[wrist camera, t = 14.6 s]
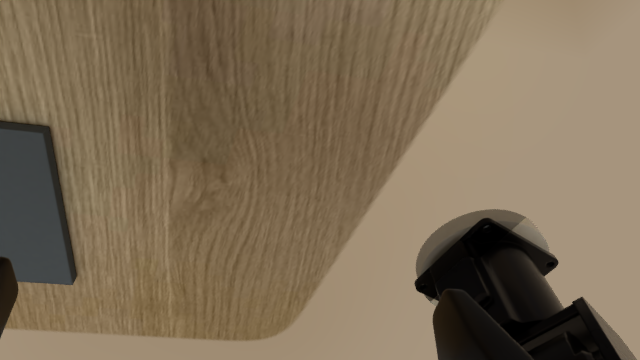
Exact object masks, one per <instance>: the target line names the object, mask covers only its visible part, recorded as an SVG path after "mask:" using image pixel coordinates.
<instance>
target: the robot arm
mask: <svg viewBox="0 0 640 360" xmlns="http://www.w3.org/2000/svg"><path fill="white" fill-rule="evenodd" d="M488 225H489V226H488ZM485 226H488V227H486V228H484V227H485ZM557 265H558V260H557V259H556V257H555V256H554V255H553V254H551V253H549V252H548V251H546V250H544V249H542V248H541V247H539V246H537V245H536V244H534V243H532V242H530V241H529V240H527V239H525V238H524V237H522V236H520V235H518V234H517V233H515V232H513V231H512V230H510V229H508V228H506V227H505V226H503V225H501V224H500V223H498V222H496V221H494V220H493V219H491V218H483V219H481V220H480V221H478V222H477V223H476V224H475V225H474V226H473V227H472V228H471V229H470V230H469V231H468V232H466V233H465V234H464V235H463V236H462V237H461V238H460V239H459V240H458V241H457V242H456V243H455V244H454V245H453V246H451V247H450V248H449V249H448V250H447V251H446V252H445V253H444V254H443V255H442V256H441V257H440V258H439V259H438V260H437V261H435V262H434V263H433V264H432V265H431V266H430V267H429V268H428V269H427V270H426V271H425V272H424V273H423V274H422V275H420V276H419V277H418V278H417V279H416V280H415V283H414V284H415V287H416V290H417V291H418V292H420V293H422V294H424V295H426V296H429V297H431V298H433V299H435V300H437V301H439V302H438V304H437V306H436V309H435V311H434V314H433V327H434V334H435V340H436V347H437V354H438V360H637V359H636V358H635V356H634V355H633V354H632V352H631V351H630V350H629V348H628V347H627V346H626V345H625V343H624V342H623V340H622V339H621V338H620V337H619V335H617V333H616V332H615V331H614V330H613V329H612V328H611V327H610V326H609V325H608V324H607V323H606V321H605V320H604V319H603V318H602V317H601V316H600V315H599V314H598V313H597V312H596V311H595V310H594V309H593V308H592V306H590V304H588V302H587V301H586V300H585V299H584V298H583V297H581V298H579V299H577V300H575V301H573V302H572V303H573V304H572V305H570V306H569V307H566V308H565V309H564V308H563V306H562V304H561V303H560V301H559V300H558V298H557V296H556V295H555V293H554V292H553V290H552V288H551V287H550V286H549V284H548V282H547V281H546V279H545V278H544V276H545V275H547V274H548V273H549V272H550V271H552V270H553V269H554V268H555V267H556V266H557ZM423 284H424V285H423ZM17 295H18V283H17V280H16V276H15V273H14V269H13V266H12V263H11V260H10V259H9V258H7V257H0V338H1V335H2V333H3V330H4V328H5V325H6V323H7V320H8V318H9V315H10V313H11V310H12V308H13V306H14V303H15V301H16V298H17Z"/></svg>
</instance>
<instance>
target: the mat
mask: <svg viewBox="0 0 640 360" xmlns="http://www.w3.org/2000/svg"><path fill="white" fill-rule="evenodd" d="M0 257H7V258H9V259H10V260H11V263H12V266H13V269H14V273H15V276H16V280H17V281H18V282H34V283H49V284H64V285H73V283H74V281H75V279H76V271H75V266H74V260H73V255H72V250H71V244H70V239H69V233H68V228H67V222H66V217H65V212H64V206H63V201H62V195H61V190H60V184H59V179H58V174H57V168H56V163H55V157H54V152H53V146H52V141H51V136H50V130H49V127H45V126H36V125H27V124H18V123H9V122H0Z"/></svg>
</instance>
